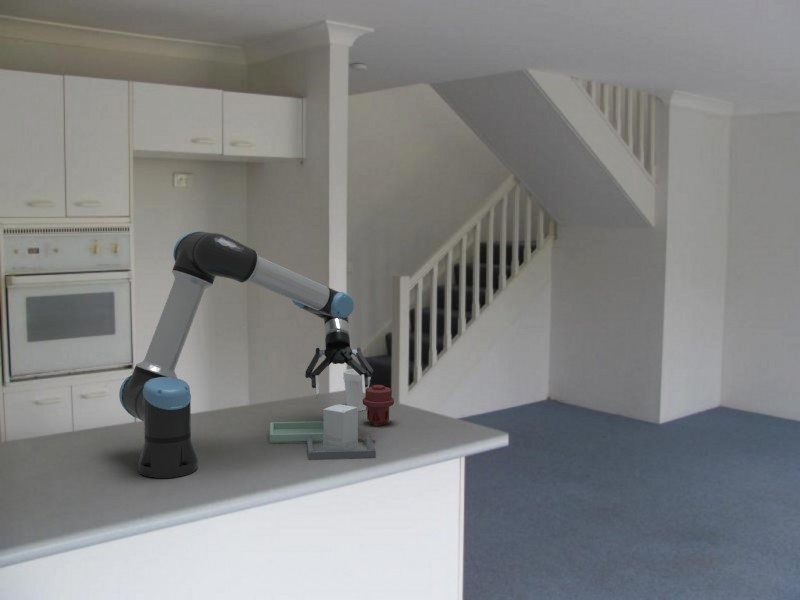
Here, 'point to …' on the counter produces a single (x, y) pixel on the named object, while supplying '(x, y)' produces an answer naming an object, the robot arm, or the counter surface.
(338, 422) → the supplement box
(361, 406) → the foam cup
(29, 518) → the counter surface
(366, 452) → the dock
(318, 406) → the counter surface
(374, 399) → the mechanical component
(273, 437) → the tray
